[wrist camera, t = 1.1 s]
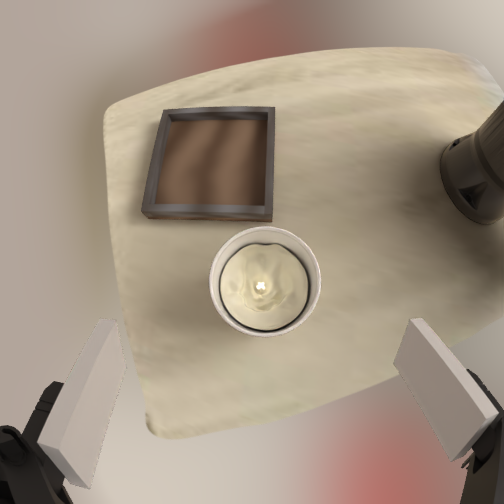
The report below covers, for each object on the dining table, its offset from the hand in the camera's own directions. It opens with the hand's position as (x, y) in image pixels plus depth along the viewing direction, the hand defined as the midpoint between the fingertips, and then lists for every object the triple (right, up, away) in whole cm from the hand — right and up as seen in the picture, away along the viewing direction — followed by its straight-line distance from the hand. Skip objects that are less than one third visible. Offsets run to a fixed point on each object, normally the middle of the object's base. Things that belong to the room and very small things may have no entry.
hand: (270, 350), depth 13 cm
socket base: (-6, +17, +30) cm, 35 cm away
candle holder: (+1, -1, +26) cm, 26 cm away
